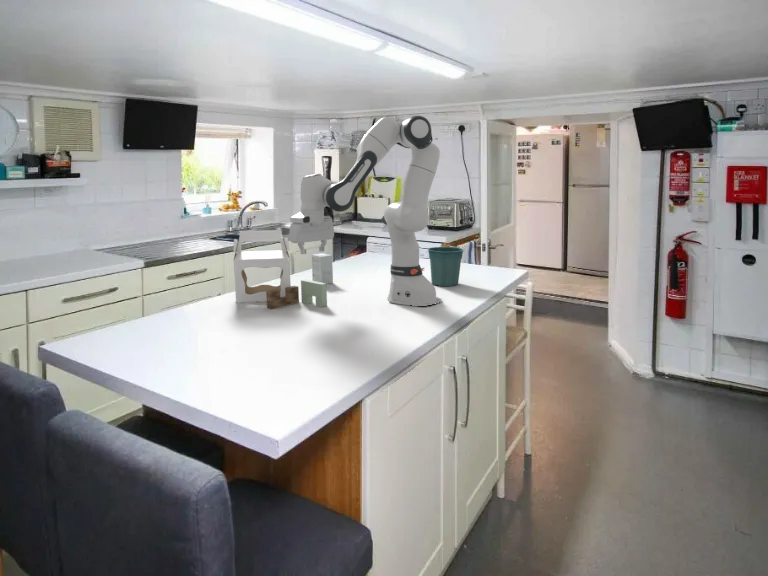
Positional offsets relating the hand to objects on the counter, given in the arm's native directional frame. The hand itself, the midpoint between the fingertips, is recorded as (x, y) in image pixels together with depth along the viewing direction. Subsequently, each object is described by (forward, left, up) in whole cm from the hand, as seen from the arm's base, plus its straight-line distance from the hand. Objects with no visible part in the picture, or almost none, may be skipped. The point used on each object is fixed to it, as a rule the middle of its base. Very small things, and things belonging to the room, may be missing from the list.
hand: (312, 252), depth 225 cm
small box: (+26, -29, -21) cm, 45 cm away
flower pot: (-19, -63, -21) cm, 69 cm away
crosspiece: (-1, +1, -21) cm, 21 cm away
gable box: (+23, +7, -21) cm, 32 cm away
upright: (+7, +10, -21) cm, 24 cm away
